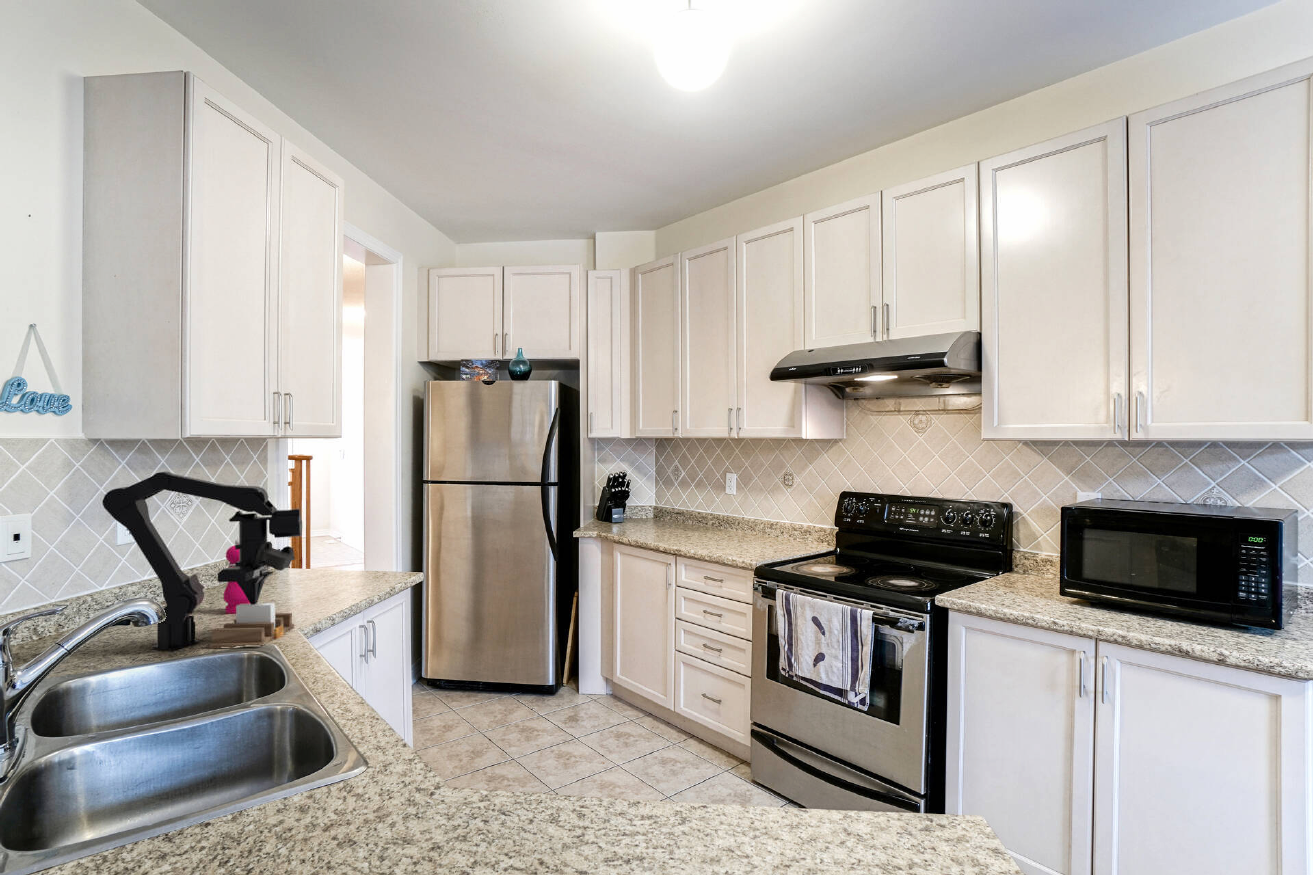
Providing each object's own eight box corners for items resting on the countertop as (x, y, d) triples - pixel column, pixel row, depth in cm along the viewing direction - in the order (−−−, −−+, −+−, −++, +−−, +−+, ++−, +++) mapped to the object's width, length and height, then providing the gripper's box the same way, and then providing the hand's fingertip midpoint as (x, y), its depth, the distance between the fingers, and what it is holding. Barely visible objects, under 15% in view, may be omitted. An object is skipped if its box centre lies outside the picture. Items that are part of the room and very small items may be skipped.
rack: (261, 647, 150) (261, 630, 150) (209, 648, 150) (209, 631, 150) (296, 627, 166) (296, 611, 166) (249, 628, 166) (249, 612, 166)
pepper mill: (260, 607, 186) (259, 537, 186) (241, 614, 179) (241, 541, 179) (236, 607, 187) (236, 537, 187) (217, 614, 180) (216, 541, 180)
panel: (270, 634, 157) (270, 605, 157) (236, 635, 157) (236, 605, 157) (275, 631, 159) (275, 603, 159) (241, 632, 159) (241, 603, 159)
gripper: (266, 544, 149) (267, 613, 149) (306, 532, 168) (306, 593, 168) (215, 545, 149) (216, 614, 149) (261, 533, 167) (262, 594, 167)
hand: (253, 603), depth 158 cm, fingers closed
